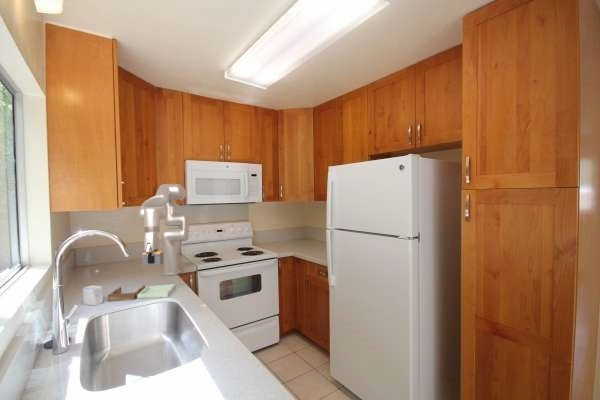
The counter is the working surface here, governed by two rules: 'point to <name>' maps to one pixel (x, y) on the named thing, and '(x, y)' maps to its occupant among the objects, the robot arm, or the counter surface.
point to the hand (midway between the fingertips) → (153, 261)
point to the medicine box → (92, 295)
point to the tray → (156, 291)
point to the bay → (123, 295)
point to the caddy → (157, 258)
